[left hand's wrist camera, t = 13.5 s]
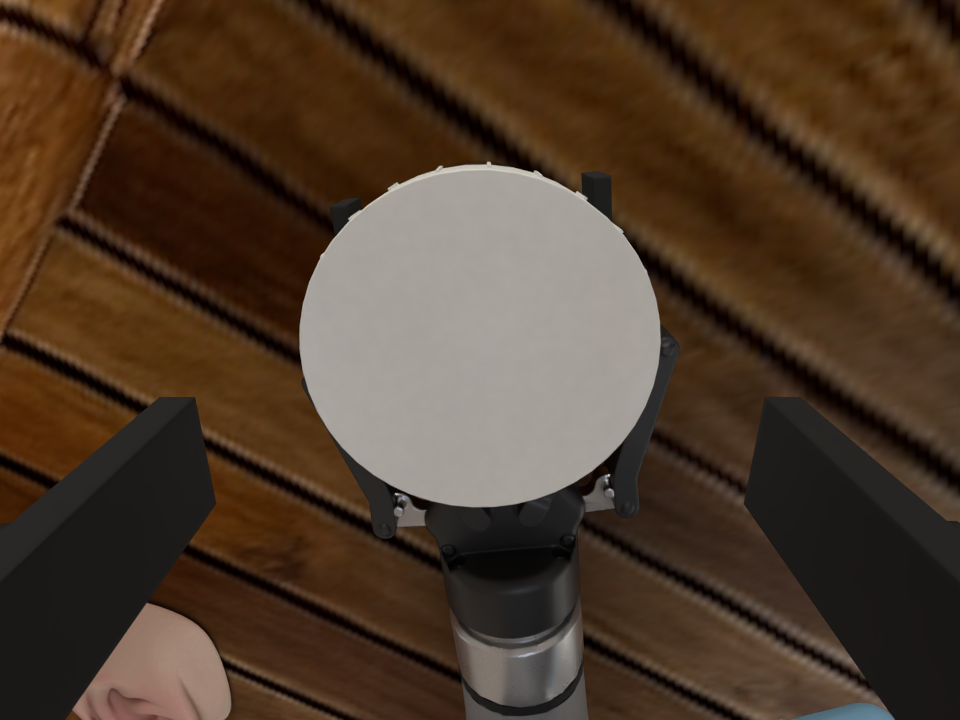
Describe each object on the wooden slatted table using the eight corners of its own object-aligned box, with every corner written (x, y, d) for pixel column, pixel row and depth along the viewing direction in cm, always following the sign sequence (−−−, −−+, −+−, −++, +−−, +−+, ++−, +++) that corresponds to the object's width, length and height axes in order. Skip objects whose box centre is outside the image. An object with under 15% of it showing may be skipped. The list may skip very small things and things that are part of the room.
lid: (713, 316, 20) (738, 337, 18) (496, 525, 23) (498, 562, 21) (457, 80, 17) (454, 74, 15) (252, 353, 20) (228, 377, 19)
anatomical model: (16, 636, 38) (197, 648, 38) (57, 590, 41) (222, 602, 42) (53, 773, 42) (213, 783, 43) (87, 722, 46) (234, 731, 47)
